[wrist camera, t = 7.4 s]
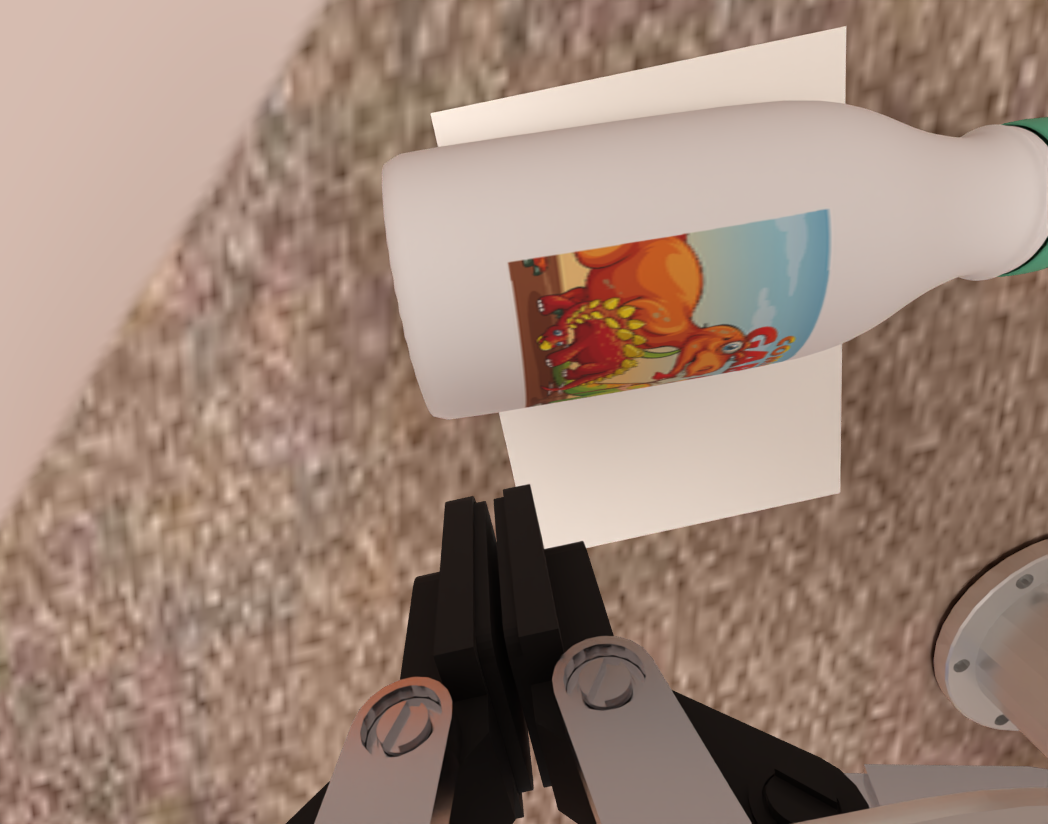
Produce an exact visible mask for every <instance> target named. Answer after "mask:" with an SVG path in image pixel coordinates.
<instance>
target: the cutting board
mask: <svg viewBox="0 0 1048 824" xmlns="http://www.w3.org/2000/svg"><path fill="white" fill-rule="evenodd" d="M845 79H846V26H844V27H840V28H835V29H830V30H825V31H821V32H816V33H811V34H806V35H801V36H797V37H792V38H787V39H782V40H778V41H773V42H768V43H763V44H759V45H754V46H749V47H744V48H740V49H735V50H730V51H725V52H720V53H716V54H711V55H706V56H701V57H697V58H692V59H687V60H682V61H678V62H673V63H668V64H663V65H659V66H654V67H649V68H644V69H640V70H635V71H630V72H625V73H620V74H616V75H611V76H606V77H601V78H597V79H592V80H587V81H582V82H578V83H573V84H568V85H563V86H559V87H554V88H549V89H544V90H539V91H535V92H530V93H525V94H520V95H516V96H511V97H506V98H501V99H497V100H492V101H487V102H482V103H478V104H473V105H468V106H463V107H459V108H454V109H449V110H444V111H439V112H435V113H430V114H431V118H432V122H433V127H434V131H435V135H436V140H437V144H438V147H441V146H448V145H455V144H461V143H468V142H475V141H482V140H488V139H495V138H502V137H508V136H515V135H522V134H529V133H536V132H543V131H550V130H557V129H564V128H571V127H578V126H585V125H592V124H598V123H605V122H612V121H619V120H627V119H634V118H642V117H649V116H656V115H664V114H671V113H679V112H686V111H693V110H701V109H708V108H715V107H723V106H733V105H743V104H753V103H763V102H773V101H783V100H786V101H828V102H837V103H843V104H845ZM841 388H842V344H839V345H837V346H835V347H832V348H830V349H827V350H824V351H821V352H818V353H814V354H811V355H808V356H804V357H801V358H798V359H793V360H788V361H784V362H779V363H774V364H769V365H765V366H760V367H755V368H750V369H746V370H741V371H735V372H729V373H724V374H718V375H713V376H707V377H701V378H696V379H690V380H685V381H679V382H673V383H668V384H662V385H657V386H651V387H645V388H639V389H634V390H628V391H622V392H616V393H610V394H604V395H598V396H592V397H587V398H581V399H575V400H569V401H563V402H557V403H551V404H545V405H539V406H533V407H527V408H521V409H515V410H509V411H503V412H499V415H500V419H501V424H502V428H503V433H504V437H505V441H506V446H507V450H508V454H509V459H510V463H511V467H512V472H513V476H514V481H515V485H516V487H517V486H522V485H527V484H530V486H531V490H532V495H533V499H534V504H535V508H536V513H537V517H538V522H539V527H540V531H541V536H542V540H543V545H544V549H547V548H552V547H556V546H561V545H566V544H570V543H575V542H579V541H584V544H585V547H586V548H589V547H593V546H598V545H602V544H607V543H612V542H616V541H621V540H625V539H630V538H635V537H639V536H644V535H649V534H653V533H658V532H662V531H667V530H672V529H676V528H681V527H685V526H690V525H695V524H699V523H704V522H708V521H713V520H718V519H722V518H727V517H732V516H736V515H741V514H745V513H750V512H755V511H759V510H764V509H768V508H773V507H778V506H782V505H787V504H791V503H796V502H801V501H805V500H810V499H815V498H819V497H824V496H828V495H833V494H838V493H840V465H841Z"/></svg>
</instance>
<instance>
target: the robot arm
mask: <svg viewBox="0 0 1048 824" xmlns="http://www.w3.org/2000/svg"><path fill="white" fill-rule="evenodd" d="M503 495H504V497H501V498H497V499H494V511H495V525H496V538H497V542H496V538H495V534H494V530H493V526H492V522H491V518H490V515H489V511H488V507H487V504H486V501H483V502H478V503H476V501H475V498H474V496H471V497H467V498H462V499H457V500H453V501H448V502H446V503H445V512H444V525H443V537H442V550H441V563H440V572H437V573H432V574H427V575H423V576H418V577H416V578H415V581H414V585H413V592H412V599H411V606H410V613H409V620H408V627H407V634H406V641H405V648H404V655H403V663H402V670H401V677H400V680H398V681H396V682H394V683H392V684H389V685H387V686H385V687H383V688H382V689H381V690H379V691H378V692H377V693H375V694H374V695H373V696H371V697H370V698H369V699H368V700H367V702H366V703H365V704H364V705H363V706H362V707H361V708H360V709H359V711H358V713H357V715H356V717H355V719H354V721H353V722H352V725H351V727H350V730H349V732H348V735H347V738H346V740H345V743H344V746H343V748H342V751H341V754H340V756H339V759H338V762H337V764H336V767H335V770H334V772H333V775H332V778H331V780H330V781H329V782H328V783H327V784H326V785H325V786H324V787H323V788H322V789H321V790H320V791H319V792H318V793H317V794H316V795H315V796H314V797H313V798H312V799H311V800H310V801H309V802H308V803H307V804H306V805H305V806H303V807H302V808H301V809H300V810H299V811H298V812H297V813H296V814H295V815H294V816H293V817H292V818H291V819H290V820H289V821H288V822H287V823H286V824H513V822H514V821H515V820H516V819H517V818H521V817H524V812H523V800H522V792H526V791H531V790H533V775H532V765H531V756H530V746H529V737H528V732H529V735H530V739H531V743H532V746H533V750H534V754H535V757H536V761H537V765H538V769H539V772H540V776H541V780H542V783H543V786H544V788H545V787H549V786H552V788H553V792H554V795H555V799H556V803H557V807H558V810H559V811H560V812H562V813H563V814H565V815H566V816H568V817H569V818H570V819H572V820H573V821H575V822H576V823H578V824H1048V769H1042V768H1036V767H1029V766H958V765H880V764H864V774H859V773H843V772H842V771H841V770H840V769H838V768H836V767H835V766H833V765H831V764H830V763H828V762H826V761H825V760H823V759H821V758H820V757H818V756H815V755H813V754H811V753H809V752H807V751H804V750H802V749H800V748H798V747H796V746H793V745H791V744H789V743H787V742H785V741H782V740H780V739H778V738H776V737H774V736H772V735H769V734H767V733H765V732H763V731H761V730H758V729H756V728H754V727H752V726H750V725H747V724H745V723H743V722H741V721H739V720H736V719H734V718H732V717H730V716H728V715H726V714H723V713H721V712H719V711H717V710H715V709H712V708H710V707H708V706H706V705H704V704H701V703H699V702H697V701H695V700H693V699H690V698H688V697H686V696H684V695H682V694H679V693H677V692H675V691H673V690H671V688H670V687H669V685H668V683H667V682H666V680H665V679H664V677H663V675H662V674H661V672H660V670H659V669H658V667H657V665H656V664H655V662H654V660H653V659H652V657H651V656H650V655H649V654H648V653H647V651H646V650H645V649H644V648H643V647H641V646H640V645H638V644H636V643H635V642H633V641H631V640H628V639H625V638H621V637H617V636H614V635H613V632H612V629H611V626H610V623H609V619H608V616H607V613H606V610H605V607H604V604H603V600H602V597H601V594H600V591H599V588H598V585H597V581H596V578H595V575H594V572H593V569H592V566H591V562H590V559H589V556H588V553H587V550H586V547H585V544H584V541H579V542H575V543H570V544H566V545H561V546H556V547H552V548H547V549H544V545H543V540H542V536H541V531H540V527H539V522H538V517H537V513H536V508H535V504H534V499H533V495H532V490H531V486H530V484H527V485H522V486H517V487H513V488H508V489H504V490H503ZM934 670H935V677H936V679H937V682H938V685H939V687H940V690H941V691H942V692H943V693H944V695H945V696H946V697H947V698H948V700H949V701H950V702H951V703H952V704H953V705H954V706H955V707H956V708H957V709H958V710H959V711H960V712H961V713H962V714H963V715H964V716H965V717H966V718H968V719H970V720H972V721H974V722H976V723H978V724H980V725H982V726H986V727H989V728H993V729H999V730H1012V731H1021V732H1022V733H1023V734H1024V735H1025V736H1026V737H1027V738H1028V739H1029V740H1030V741H1031V742H1032V743H1033V744H1034V745H1035V746H1036V747H1037V748H1038V749H1039V750H1040V751H1041V752H1042V753H1043V754H1044V755H1045V756H1046V757H1047V758H1048V539H1046V540H1043V541H1040V542H1038V543H1035V544H1032V545H1030V546H1028V547H1026V548H1024V549H1022V550H1020V551H1018V552H1016V553H1015V554H1013V555H1011V556H1009V557H1007V558H1006V559H1004V560H1003V561H1001V562H1000V563H999V564H997V565H996V566H994V567H993V568H991V569H990V570H989V571H987V572H986V573H985V574H984V575H983V576H982V577H981V578H979V579H978V580H977V581H976V582H975V583H974V584H973V585H972V586H971V587H970V588H969V589H968V590H967V591H966V592H965V593H964V595H963V596H962V597H961V598H960V599H959V601H958V602H957V603H956V604H955V605H954V607H953V609H952V610H951V612H950V614H949V615H948V617H947V619H946V620H945V622H944V624H943V626H942V629H941V632H940V634H939V637H938V639H937V642H936V648H935V655H934Z"/></svg>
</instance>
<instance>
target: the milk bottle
mask: <svg viewBox="0 0 1048 824" xmlns="http://www.w3.org/2000/svg"><path fill="white" fill-rule="evenodd" d="M382 195H383V209H384V223H385V228H386V240H387V246H388V250H389V258H390V267H391V270H392V274H393V278H394V290H395V293H396V296H397V300H398V305H399V314H400V317H401V319H402V322H403V328H404V335H405V339H406V342H407V344H408V349H409V354H410V359H411V362H412V364H413V367H414V371H415V375H416V378H417V381H418V384H419V387H420V390H421V392H422V395H423V398H424V401H425V404H426V406H427V408H428V410H429V412H430V413H431V414H432V415H433V416H434V417H439V418H443V419H448V420H449V419H457V418H464V417H471V416H479V415H485V414H491V413H497V412H503V411H509V410H515V409H521V408H527V407H533V406H539V405H545V404H551V403H557V402H563V401H569V400H575V399H581V398H587V397H592V396H598V395H604V394H610V393H616V392H622V391H628V390H634V389H639V388H645V387H651V386H657V385H662V384H668V383H673V382H679V381H685V380H690V379H696V378H701V377H707V376H713V375H718V374H724V373H729V372H735V371H741V370H746V369H750V368H755V367H760V366H765V365H769V364H774V363H779V362H784V361H788V360H793V359H798V358H801V357H804V356H808V355H811V354H814V353H818V352H821V351H824V350H827V349H830V348H832V347H835V346H837V345H839V344H842V343H844V342H847V341H849V340H851V339H853V338H855V337H857V336H859V335H861V334H863V333H865V332H867V331H868V330H870V329H872V328H874V327H875V326H877V325H878V324H880V323H881V322H883V321H885V320H886V319H888V318H889V317H890V316H892V315H893V314H895V313H896V312H897V311H899V310H900V309H902V308H903V307H905V306H906V305H907V304H909V303H910V302H912V301H913V300H915V299H916V298H918V297H919V296H921V295H923V294H924V293H926V292H928V291H929V290H931V289H933V288H935V287H937V286H939V285H941V284H943V283H945V282H948V281H950V280H952V279H954V278H957V277H960V278H963V279H967V280H974V281H978V280H987V279H991V278H995V277H1003V276H1011V275H1019V274H1025V273H1029V272H1034V271H1038V270H1042V269H1045V268H1048V117H1044V118H1034V119H1024V120H1019V121H1014V122H1009V123H1004V124H1001V125H987V126H982V127H979V128H976V129H974V130H972V131H970V132H968V133H966V134H964V135H963V136H961V137H960V138H959V137H950V136H944V135H938V134H934V133H929V132H926V131H923V130H920V129H917V128H914V127H911V126H909V125H907V124H904V123H902V122H899V121H897V120H895V119H892V118H890V117H888V116H885V115H882V114H880V113H877V112H874V111H871V110H869V109H866V108H861V107H857V106H853V105H848V104H843V103H837V102H828V101H786V100H783V101H773V102H763V103H753V104H743V105H733V106H723V107H715V108H708V109H701V110H693V111H686V112H679V113H671V114H664V115H656V116H649V117H642V118H634V119H627V120H619V121H612V122H605V123H598V124H592V125H585V126H578V127H571V128H564V129H557V130H550V131H543V132H536V133H529V134H522V135H515V136H508V137H502V138H495V139H488V140H482V141H475V142H468V143H461V144H455V145H448V146H441V147H435V148H429V149H424V150H418V151H413V152H407V153H402V154H398V155H397V156H395V157H394V158H392V159H391V160H389V161H388V162H386V163H385V164H383V170H382Z"/></svg>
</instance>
